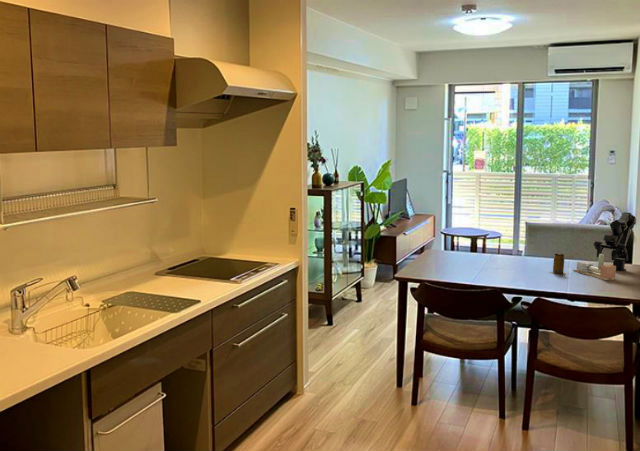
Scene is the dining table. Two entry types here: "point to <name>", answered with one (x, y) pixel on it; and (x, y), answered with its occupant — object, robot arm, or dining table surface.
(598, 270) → the beige cradle bracket
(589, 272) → the base rail
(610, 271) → the socket
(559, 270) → the condiment
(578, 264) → the sleeve
